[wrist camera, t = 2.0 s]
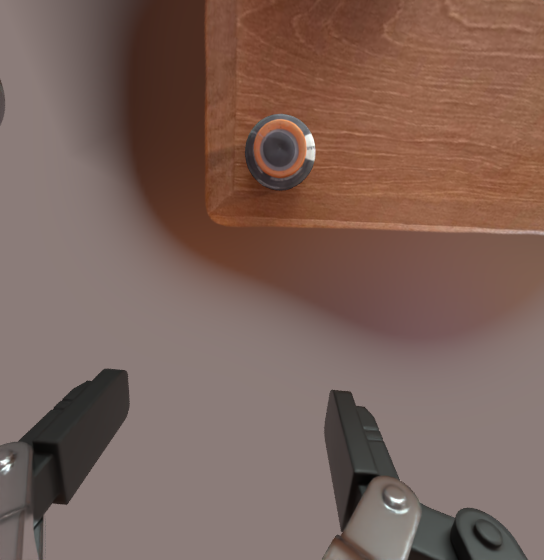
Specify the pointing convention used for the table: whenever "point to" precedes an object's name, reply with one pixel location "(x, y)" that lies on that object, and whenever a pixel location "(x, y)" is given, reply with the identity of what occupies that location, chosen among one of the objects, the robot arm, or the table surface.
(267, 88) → the table surface
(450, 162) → the table surface
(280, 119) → the pill bottle
